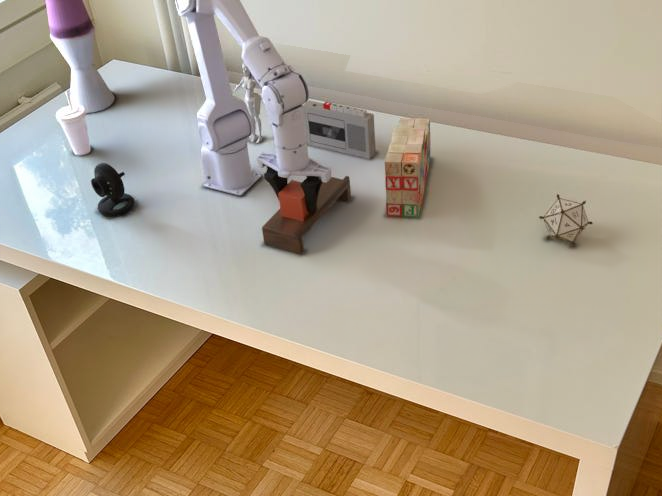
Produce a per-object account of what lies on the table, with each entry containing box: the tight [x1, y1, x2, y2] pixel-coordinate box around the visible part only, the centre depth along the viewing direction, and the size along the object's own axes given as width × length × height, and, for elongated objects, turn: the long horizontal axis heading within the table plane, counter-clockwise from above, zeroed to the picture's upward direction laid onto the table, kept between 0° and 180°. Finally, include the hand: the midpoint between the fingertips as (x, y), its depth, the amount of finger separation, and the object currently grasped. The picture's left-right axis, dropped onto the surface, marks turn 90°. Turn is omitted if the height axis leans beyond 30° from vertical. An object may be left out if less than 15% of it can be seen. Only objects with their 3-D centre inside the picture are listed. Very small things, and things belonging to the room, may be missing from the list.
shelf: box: [261, 175, 352, 255], centre depth 168 cm, size 8×20×5 cm, turn 151°
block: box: [278, 179, 317, 222], centre depth 163 cm, size 5×5×5 cm
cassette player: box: [303, 100, 377, 160], centre depth 184 cm, size 16×3×10 cm, turn 59°
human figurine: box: [231, 61, 264, 144], centre depth 187 cm, size 12×4×18 cm, turn 60°
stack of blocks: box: [384, 117, 431, 218], centre depth 171 cm, size 21×6×12 cm, turn 168°
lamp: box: [45, 0, 115, 114], centre depth 199 cm, size 11×11×40 cm
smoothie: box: [55, 90, 92, 156], centre depth 191 cm, size 6×6×14 cm
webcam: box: [90, 162, 135, 218], centre depth 175 cm, size 8×8×10 cm
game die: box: [538, 193, 594, 247], centre depth 156 cm, size 9×8×10 cm
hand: (298, 205), depth 164 cm, fingers open, 5 cm apart
